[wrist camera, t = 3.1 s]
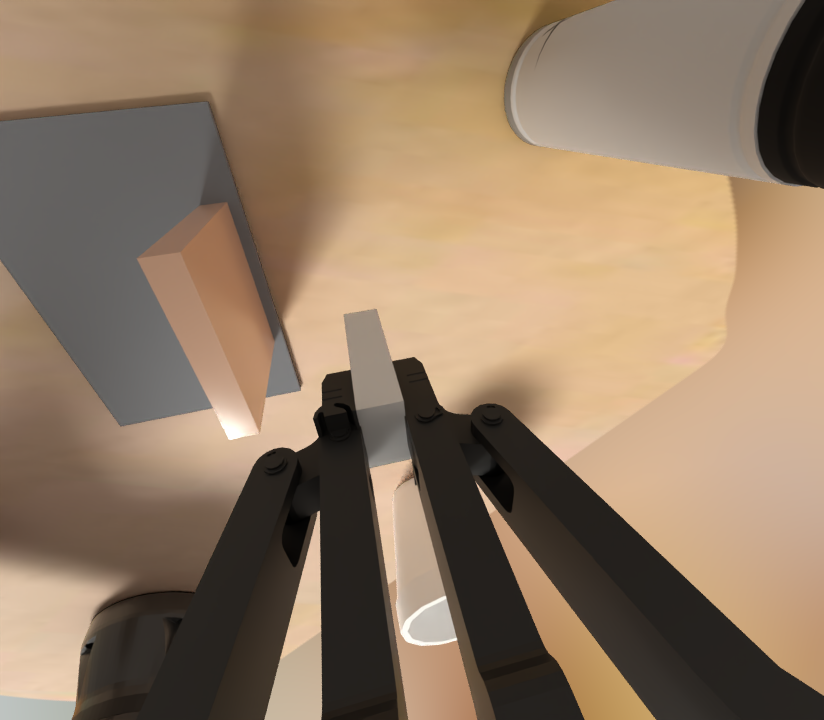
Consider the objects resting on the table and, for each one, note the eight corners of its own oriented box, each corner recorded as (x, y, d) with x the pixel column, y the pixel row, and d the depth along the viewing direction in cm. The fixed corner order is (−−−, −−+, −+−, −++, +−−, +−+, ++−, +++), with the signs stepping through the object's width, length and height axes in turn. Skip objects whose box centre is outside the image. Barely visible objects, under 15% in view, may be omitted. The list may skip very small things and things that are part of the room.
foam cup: (473, 471, 43) (525, 589, 33) (437, 522, 47) (474, 642, 36) (398, 460, 39) (429, 589, 29) (366, 516, 43) (383, 648, 33)
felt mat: (122, 422, 30) (120, 426, 30) (-86, 130, 19) (-93, 130, 18) (300, 387, 32) (300, 390, 32) (208, 101, 21) (207, 101, 20)
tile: (249, 345, 28) (224, 440, 20) (195, 206, 23) (130, 259, 15) (274, 341, 29) (259, 433, 20) (227, 201, 23) (180, 251, 15)
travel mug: (506, 17, 21) (1126, -279, 5) (607, 28, 23) (1359, -182, 6) (490, 144, 25) (830, 210, 9) (579, 147, 26) (1022, 207, 10)
